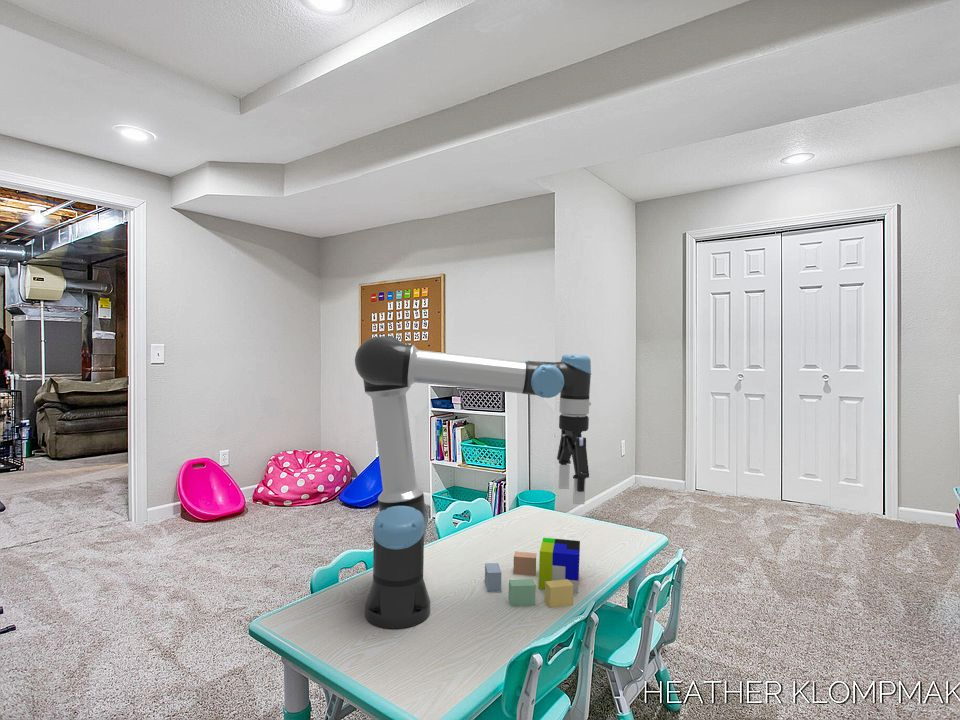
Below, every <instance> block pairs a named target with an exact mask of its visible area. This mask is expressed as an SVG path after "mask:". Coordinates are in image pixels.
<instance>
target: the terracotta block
mask: <svg viewBox="0 0 960 720" xmlns="http://www.w3.org/2000/svg"><path fill="white" fill-rule="evenodd" d="M512 569H513V571H512V573H513V575H518V576H519V575H520V576H521V575H522V576H532V577H535V576H536V572H537V553H536V552H525V551H524V552H523V551H514V553H513V568H512Z"/></svg>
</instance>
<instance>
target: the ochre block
mask: <svg viewBox="0 0 960 720" xmlns="http://www.w3.org/2000/svg"><path fill="white" fill-rule="evenodd" d="M544 602H545V604H546V605H547V606H548V607H549V608H560V607H561V608H562V607H567V606H573V605H574V593H573V584H572V583H571V582H570V581H569V580H568V579H563V580H554V581H545V590H544Z"/></svg>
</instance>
